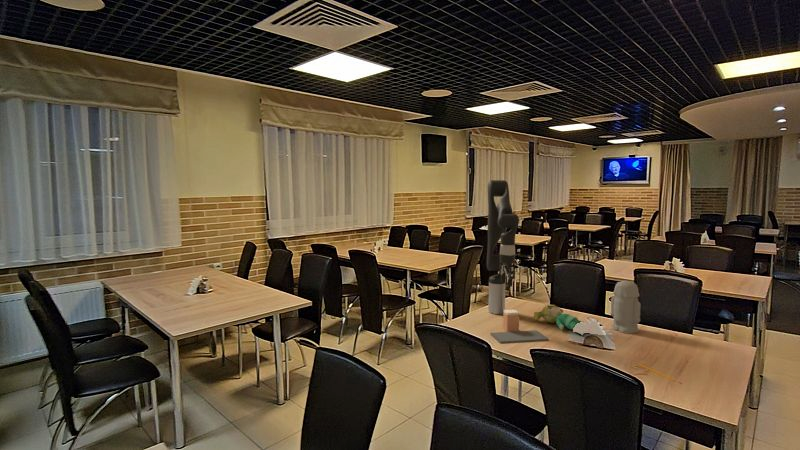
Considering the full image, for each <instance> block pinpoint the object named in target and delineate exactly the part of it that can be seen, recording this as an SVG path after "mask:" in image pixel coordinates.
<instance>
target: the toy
mask: <svg viewBox="0 0 800 450" xmlns="http://www.w3.org/2000/svg"><path fill="white" fill-rule="evenodd" d="M533 317H534V320H535V321H537V320H538V321H539V320H540V319H541V318H543V320H544V321H546V322H547V323H549V324H553V323H556V325H557V327H558V328H559V330H560V331H561V332H563V330H564V328H565V327H566V328H568V330H572V329H573V328H574V327H575V325H576V324H577V323H580V322H583V321H581V320H580V319H578V317H577V316H574V315H571V314H569V313H564V309H562V308H560V307H559V306H557V305H555V304H547V305H545V306H544V307H543V308H542V309H541V311H535V312H534V313H533Z"/></svg>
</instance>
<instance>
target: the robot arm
mask: <svg viewBox="0 0 800 450" xmlns="http://www.w3.org/2000/svg"><path fill="white" fill-rule="evenodd" d="M495 197H496V198H497V197H499V198H500V197H501V198H500V199H499V200H498V202H497V205H496V202H495ZM487 206H488V207H487V208H488V209H487V210H488V211H487V250H486V251H487V252H486V269H487V270H488V271H489V272H490V271H493V272H498V273H497V274H494V275H491V276H489V278H488V304H487V305H488V308H487V309H488V311H489V312H490V314H492V313H493V314H492V315H502V314H503V312H504V310H506V282H507V287H509V288H511V287H513V280H515V277H516V271H515V270H516V269H515V268H516V267H515V266H513V265H512V264H514V263H516V244H515V243H516V234H517V229H518V227H519V225H520V218H519V215H517V214H515V213H513V211H514V210H513V209H512V204H511V201H510V190H509V184H508V181H506V180H502V179H501V180H499V179H493V180H489V181H488V183H487ZM505 229H509V231H506V232H505ZM499 241H500V246H499V254H494V251H495V248H496V246H497V244H498V243H499ZM506 280H507V281H506ZM489 312H488V313H489Z"/></svg>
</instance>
